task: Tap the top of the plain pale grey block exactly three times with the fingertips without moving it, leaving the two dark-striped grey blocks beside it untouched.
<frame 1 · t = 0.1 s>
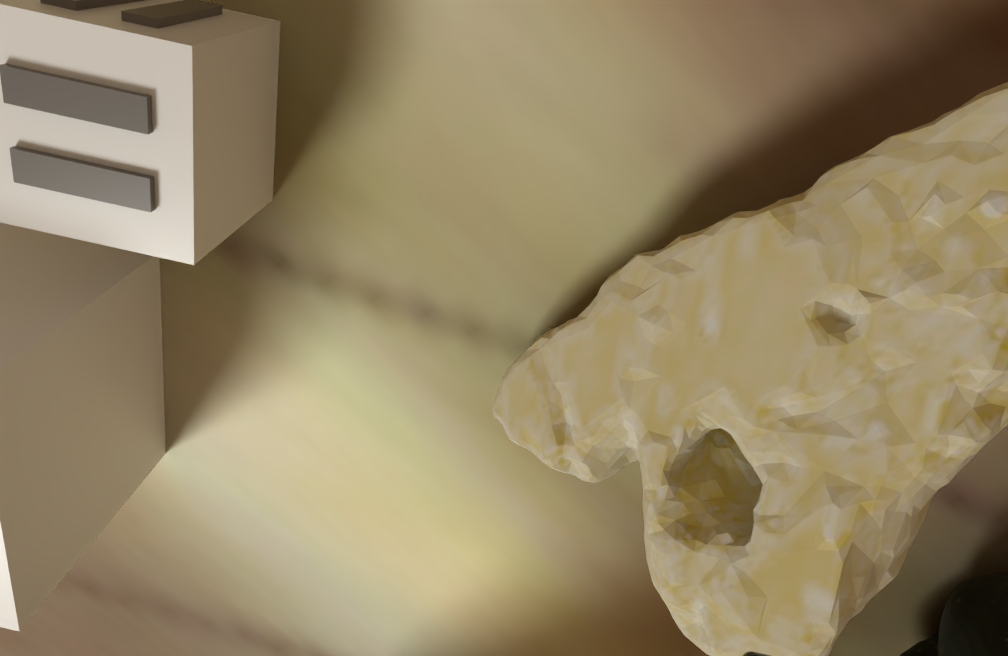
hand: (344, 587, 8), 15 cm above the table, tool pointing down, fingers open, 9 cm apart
cheese: (762, 253, 22), on the table
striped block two: (190, 95, 21), on the table
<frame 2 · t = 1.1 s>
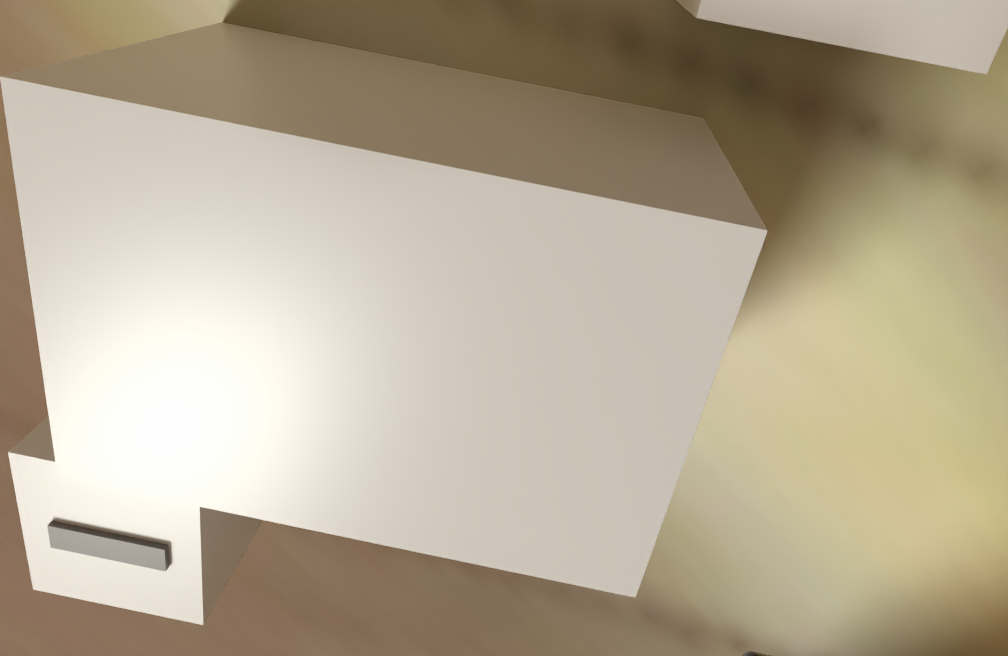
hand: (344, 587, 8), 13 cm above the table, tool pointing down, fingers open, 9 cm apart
striped block one: (197, 434, 25), on the table
plain grey block: (441, 220, 20), on the table
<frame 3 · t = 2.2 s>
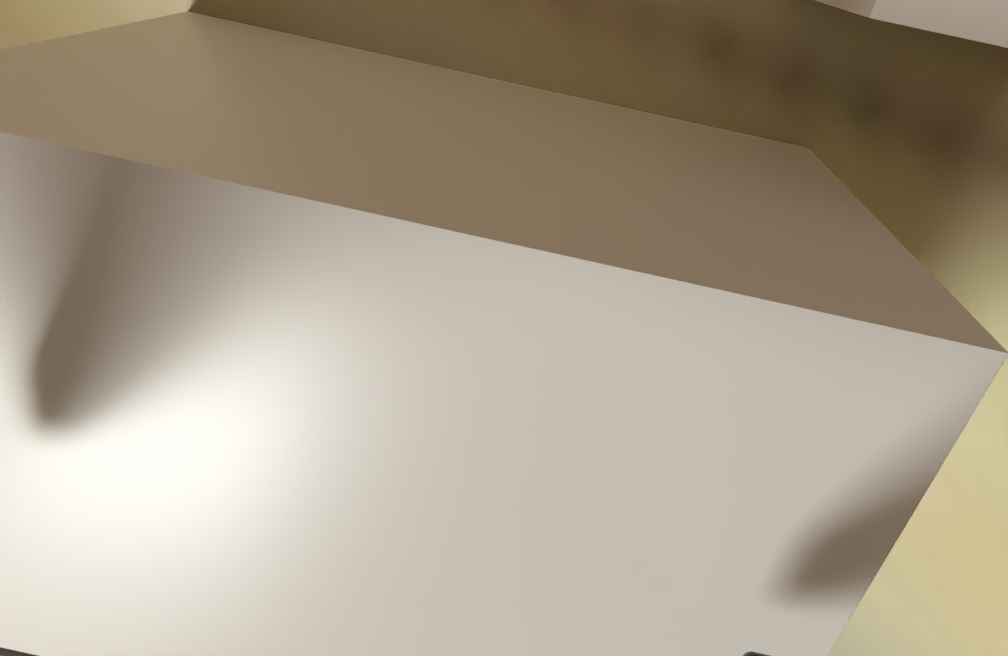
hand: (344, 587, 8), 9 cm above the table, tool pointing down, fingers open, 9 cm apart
plain grey block: (464, 266, 16), on the table
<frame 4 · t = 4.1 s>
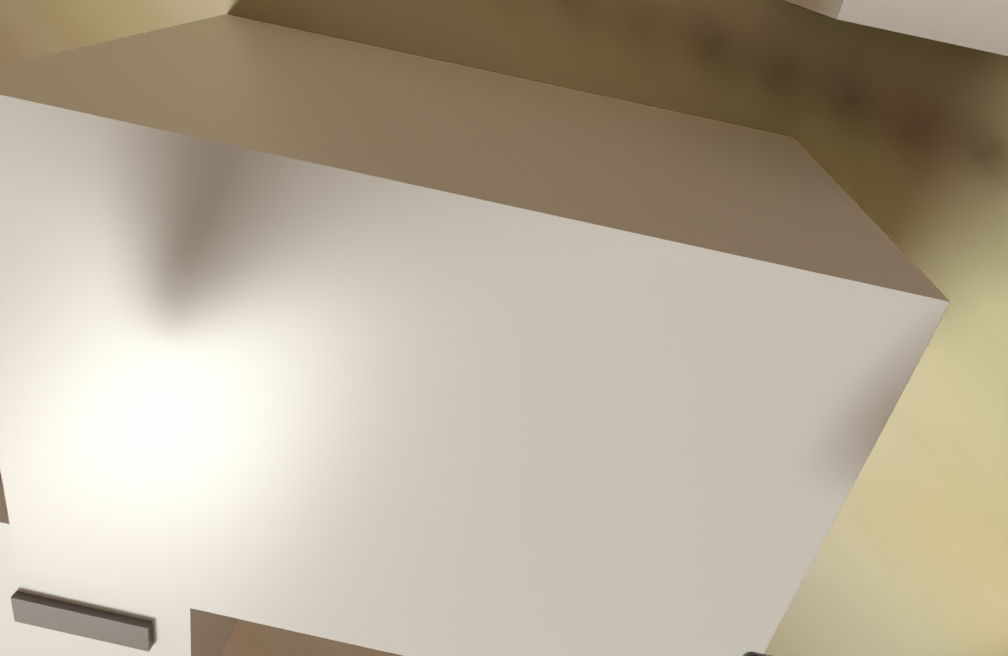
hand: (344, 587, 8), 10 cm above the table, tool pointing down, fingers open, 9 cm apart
striped block one: (188, 480, 22), on the table
plain grey block: (477, 249, 18), on the table
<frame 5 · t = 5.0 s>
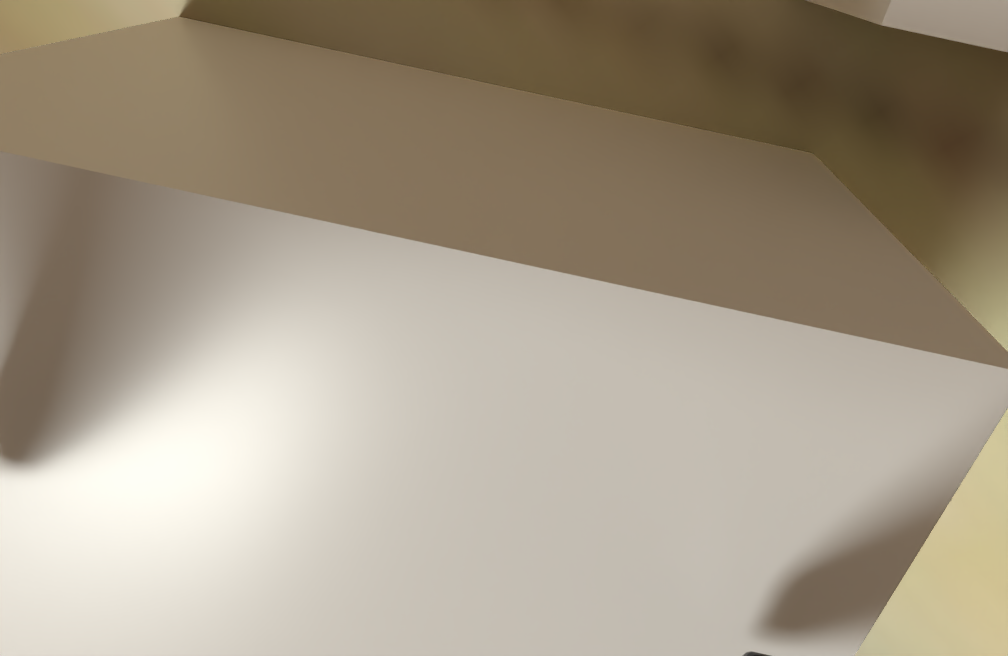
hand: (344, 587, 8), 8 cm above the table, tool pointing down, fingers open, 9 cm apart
plain grey block: (462, 275, 16), on the table
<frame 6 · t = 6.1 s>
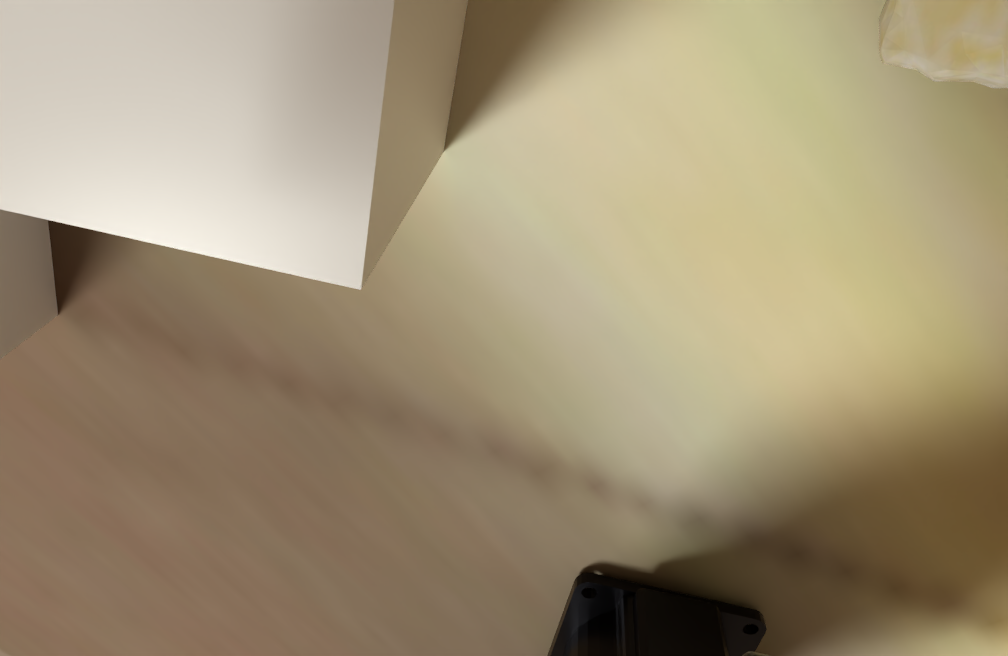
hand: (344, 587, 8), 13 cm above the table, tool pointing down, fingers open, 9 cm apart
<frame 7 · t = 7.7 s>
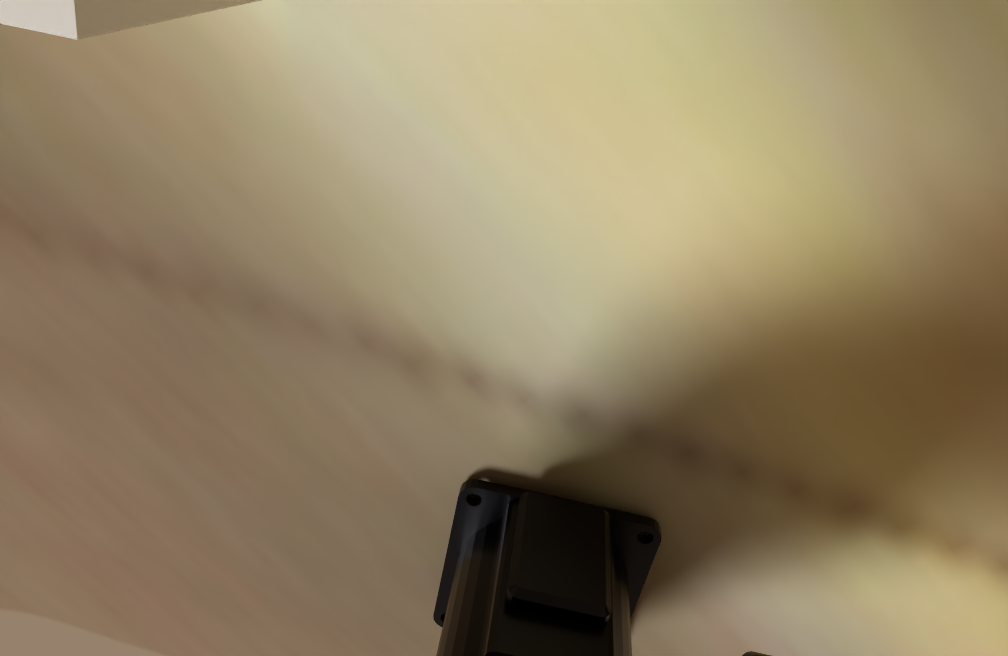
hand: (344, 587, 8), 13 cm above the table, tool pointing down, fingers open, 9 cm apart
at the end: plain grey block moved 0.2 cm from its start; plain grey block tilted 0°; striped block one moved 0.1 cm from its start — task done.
